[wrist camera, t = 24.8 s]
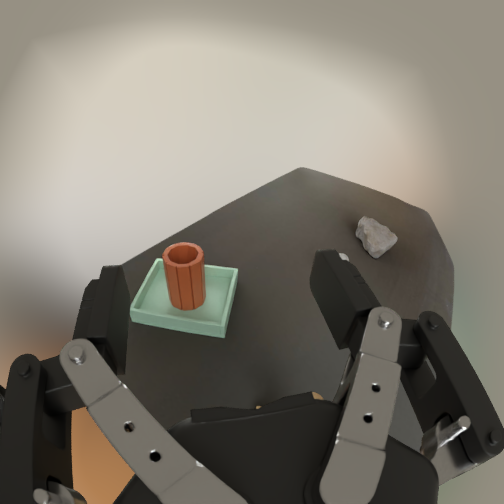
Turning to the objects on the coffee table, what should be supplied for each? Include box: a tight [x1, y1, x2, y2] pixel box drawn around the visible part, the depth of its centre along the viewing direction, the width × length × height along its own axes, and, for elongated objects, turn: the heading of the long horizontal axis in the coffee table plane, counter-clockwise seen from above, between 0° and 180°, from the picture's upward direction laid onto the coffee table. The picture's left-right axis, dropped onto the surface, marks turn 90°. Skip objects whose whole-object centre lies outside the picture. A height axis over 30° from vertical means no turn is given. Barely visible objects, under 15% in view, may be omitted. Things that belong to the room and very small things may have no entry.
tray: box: [130, 258, 238, 338], centre depth 49 cm, size 15×13×3 cm
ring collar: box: [162, 242, 206, 311], centre depth 47 cm, size 6×6×9 cm
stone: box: [356, 216, 397, 258], centre depth 64 cm, size 10×8×6 cm
